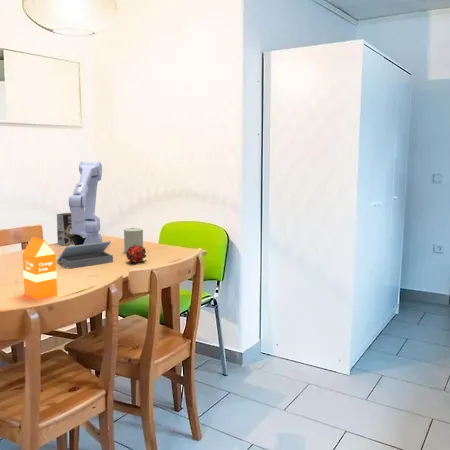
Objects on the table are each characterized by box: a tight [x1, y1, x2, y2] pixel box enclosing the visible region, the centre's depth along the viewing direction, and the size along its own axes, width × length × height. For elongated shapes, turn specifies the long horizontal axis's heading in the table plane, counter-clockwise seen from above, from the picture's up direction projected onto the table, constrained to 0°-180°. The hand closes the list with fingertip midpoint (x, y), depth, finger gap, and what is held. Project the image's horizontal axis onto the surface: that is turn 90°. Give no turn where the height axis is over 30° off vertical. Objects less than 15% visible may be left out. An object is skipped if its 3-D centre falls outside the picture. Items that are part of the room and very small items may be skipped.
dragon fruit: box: [125, 244, 147, 264], centre depth 219 cm, size 8×8×12 cm
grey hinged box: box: [60, 251, 114, 269], centre depth 217 cm, size 20×9×3 cm, turn 130°
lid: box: [56, 240, 112, 263], centre depth 219 cm, size 20×14×3 cm
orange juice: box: [21, 236, 58, 300], centre depth 170 cm, size 8×9×20 cm
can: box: [123, 227, 144, 255], centre depth 238 cm, size 9×9×12 cm
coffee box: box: [56, 212, 75, 247], centre depth 257 cm, size 9×6×16 cm
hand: (79, 251), depth 223 cm, fingers closed
